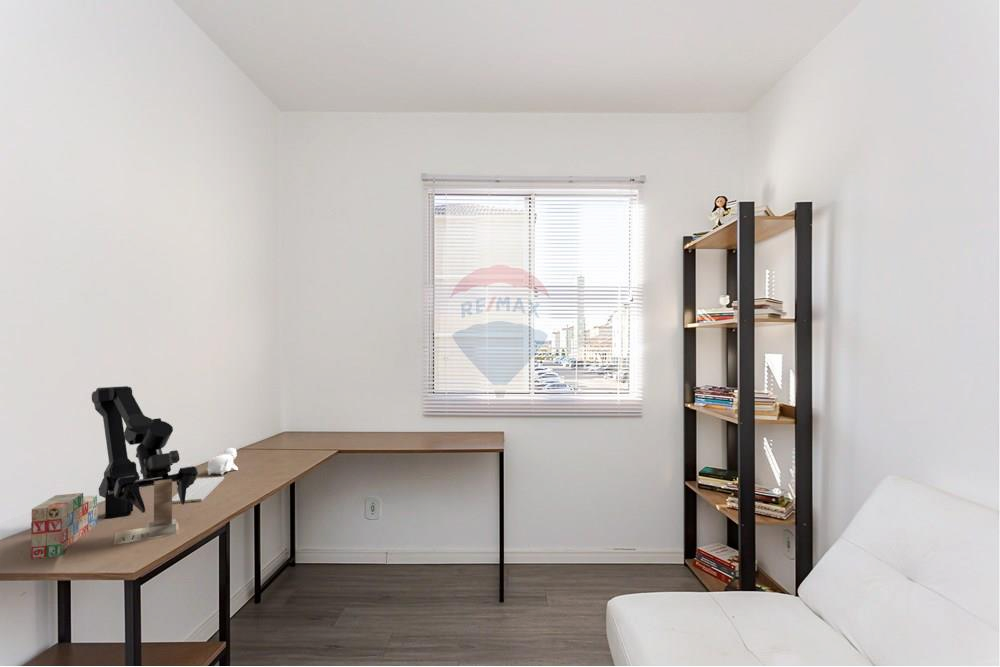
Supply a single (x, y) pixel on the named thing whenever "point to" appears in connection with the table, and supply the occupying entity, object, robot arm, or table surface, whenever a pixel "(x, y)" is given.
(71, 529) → the stack of blocks
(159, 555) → the table surface
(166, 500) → the block
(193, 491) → the baseboard molding
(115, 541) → the board
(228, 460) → the white lumpy figurine
